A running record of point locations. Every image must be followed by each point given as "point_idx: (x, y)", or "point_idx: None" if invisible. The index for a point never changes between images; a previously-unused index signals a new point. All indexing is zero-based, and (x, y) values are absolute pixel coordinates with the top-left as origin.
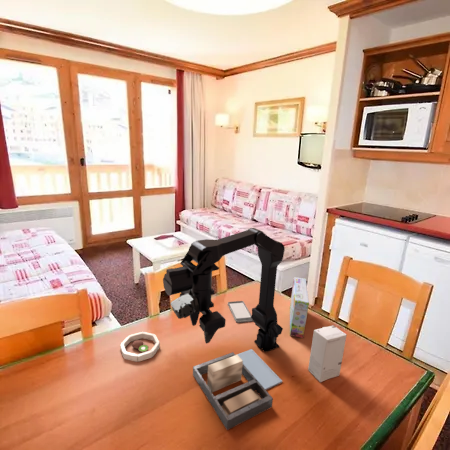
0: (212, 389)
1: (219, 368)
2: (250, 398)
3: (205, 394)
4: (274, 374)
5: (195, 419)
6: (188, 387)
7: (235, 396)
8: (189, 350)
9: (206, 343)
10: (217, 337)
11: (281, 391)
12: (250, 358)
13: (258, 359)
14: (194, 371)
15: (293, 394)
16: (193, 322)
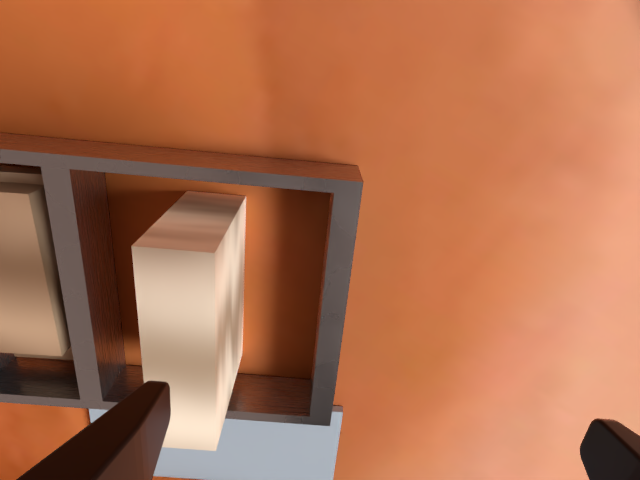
0: (181, 198)
1: (148, 302)
2: (3, 320)
3: (182, 150)
4: None
5: (53, 9)
6: (285, 92)
7: (41, 268)
8: (544, 247)
9: (147, 383)
10: (517, 416)
11: (61, 436)
12: (281, 452)
13: (256, 472)
14: (337, 174)
15: (30, 459)
16: (627, 472)
